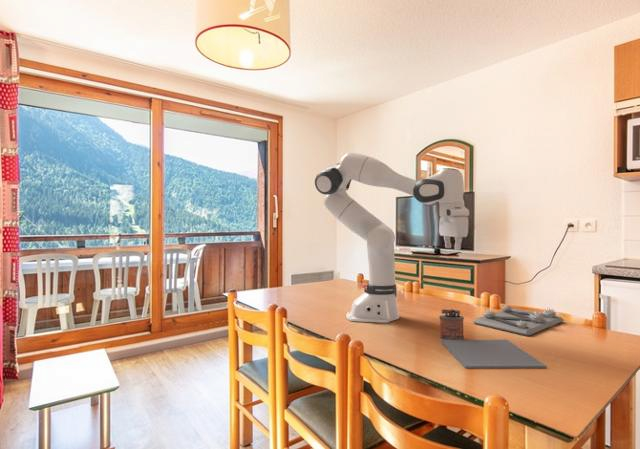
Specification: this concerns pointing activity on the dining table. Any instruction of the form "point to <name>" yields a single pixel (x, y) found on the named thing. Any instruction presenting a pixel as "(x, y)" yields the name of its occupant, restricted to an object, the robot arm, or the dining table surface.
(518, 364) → the mat
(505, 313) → the grey spiked board
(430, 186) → the robot arm
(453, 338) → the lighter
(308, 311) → the dining table surface
